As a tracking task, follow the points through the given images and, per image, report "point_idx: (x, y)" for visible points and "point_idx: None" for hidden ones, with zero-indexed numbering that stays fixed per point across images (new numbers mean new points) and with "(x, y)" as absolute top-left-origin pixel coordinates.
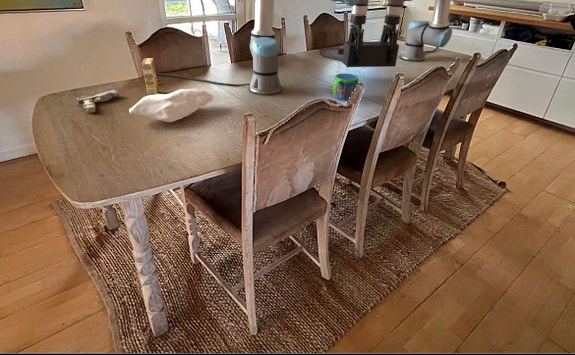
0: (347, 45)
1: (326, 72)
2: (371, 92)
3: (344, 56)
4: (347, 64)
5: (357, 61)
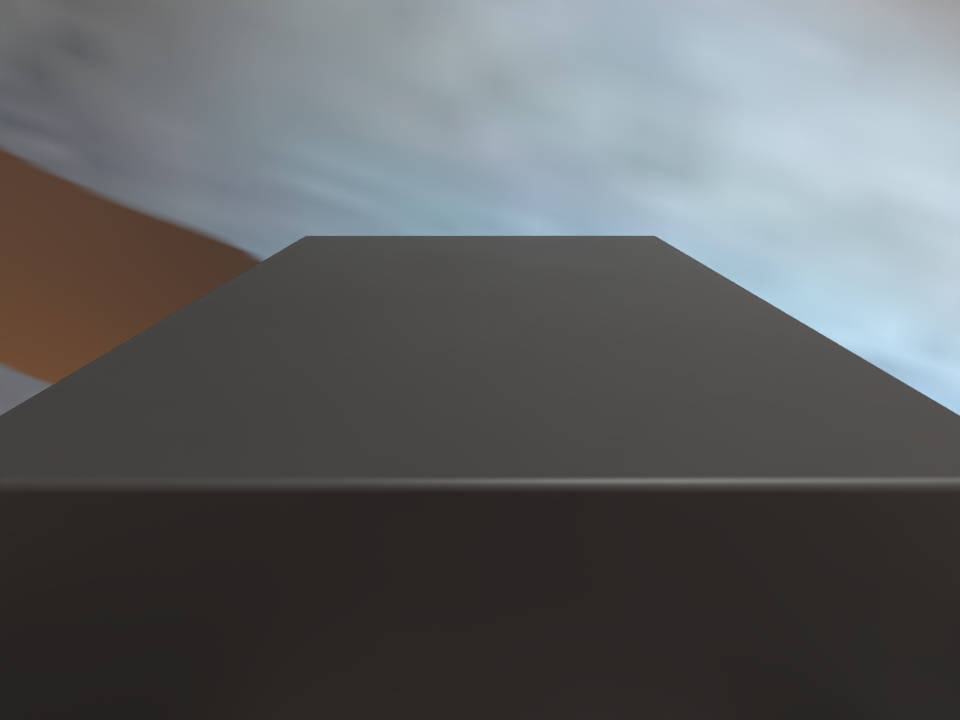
0: (375, 430)
1: (888, 33)
2: (8, 409)
3: (579, 270)
4: (289, 248)
5: None
